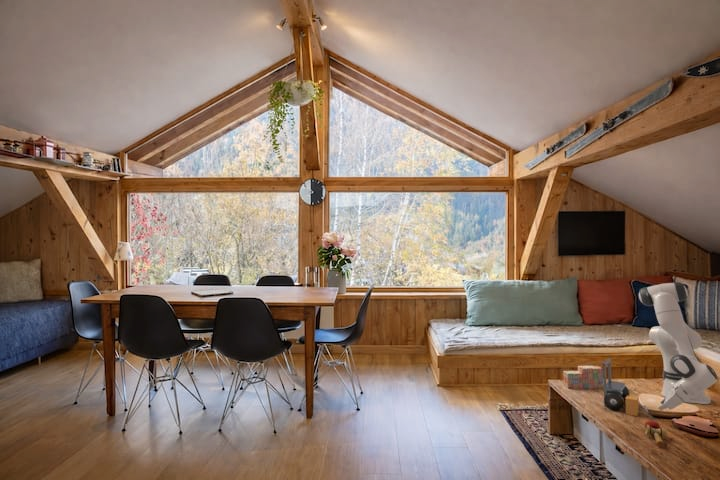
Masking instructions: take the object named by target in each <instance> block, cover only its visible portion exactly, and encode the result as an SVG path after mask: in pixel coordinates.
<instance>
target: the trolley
mask: <svg viewBox="0 0 720 480" xmlns="http://www.w3.org/2000/svg"><path fill="white" fill-rule="evenodd" d="M611 360H612V359H611V357H607V358H606V359H605V361H604V362H602V368H603V404H604V405H603V406H604V407H606V408H608V409H609V410H611V411H614V412H615V411H620V410H622V408H623V407H624V405H625V402H626V397H627V396H631V395H630V390H629V388H628V386H626V382H622V381H621V382H620V381H614V380H612V367H611V365H612V363H611V362H612V361H611ZM607 374H608V377H607ZM607 379H608V381H607Z"/></svg>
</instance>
